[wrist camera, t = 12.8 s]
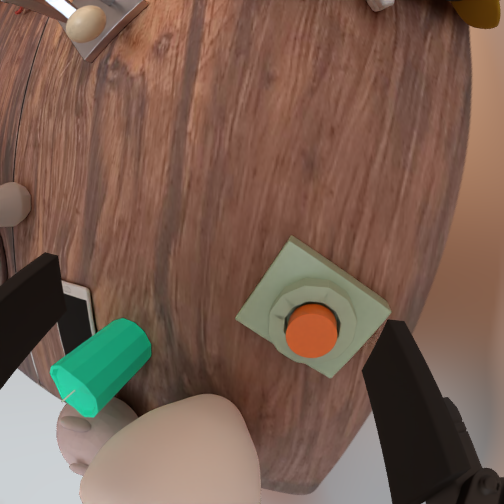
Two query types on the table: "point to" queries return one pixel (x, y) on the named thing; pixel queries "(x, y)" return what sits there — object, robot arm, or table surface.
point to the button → (311, 331)
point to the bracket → (117, 17)
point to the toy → (90, 432)
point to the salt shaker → (13, 204)
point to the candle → (101, 366)
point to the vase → (178, 458)
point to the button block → (313, 292)
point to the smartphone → (76, 317)
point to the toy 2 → (462, 11)
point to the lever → (81, 20)
